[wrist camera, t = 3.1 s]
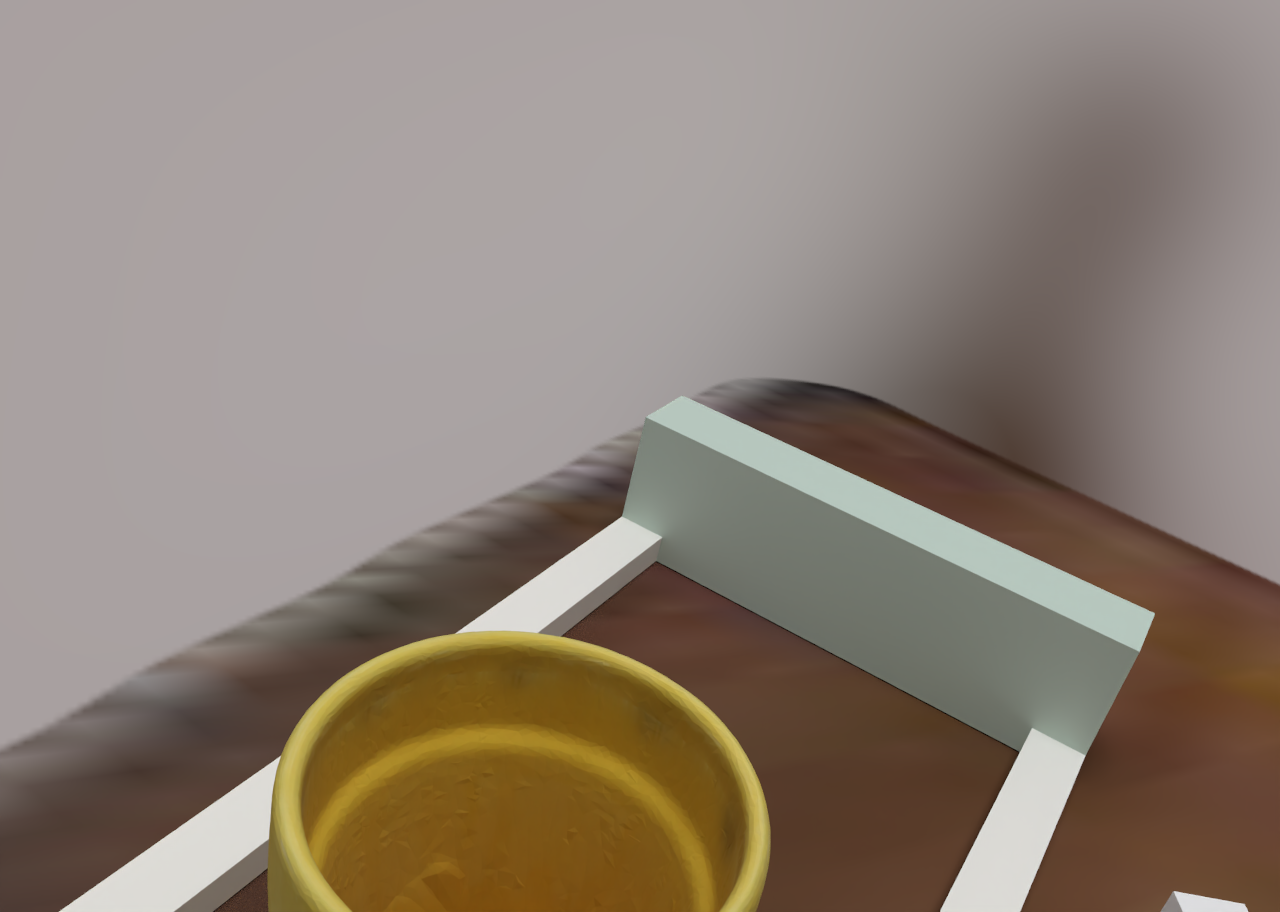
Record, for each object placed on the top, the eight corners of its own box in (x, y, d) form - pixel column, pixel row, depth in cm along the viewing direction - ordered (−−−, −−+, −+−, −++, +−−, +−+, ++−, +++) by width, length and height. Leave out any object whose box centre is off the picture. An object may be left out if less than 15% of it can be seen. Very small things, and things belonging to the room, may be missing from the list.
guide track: (703, 1655, 21) (794, 1507, 18) (-18, 1000, 29) (-35, 821, 26) (1090, 737, 46) (1154, 613, 43) (652, 514, 54) (682, 395, 51)
